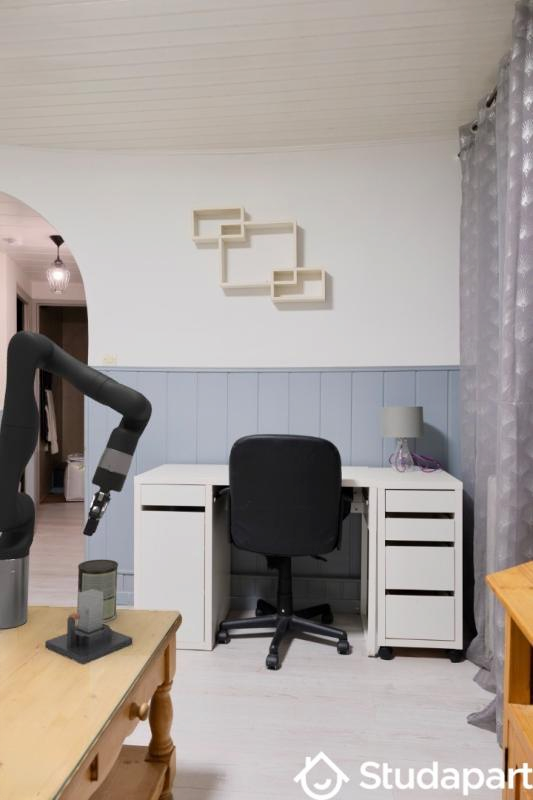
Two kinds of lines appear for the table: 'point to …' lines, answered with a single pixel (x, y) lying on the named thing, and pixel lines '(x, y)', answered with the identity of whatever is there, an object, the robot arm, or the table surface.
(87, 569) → the coffee can
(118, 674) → the table surface
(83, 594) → the steel column
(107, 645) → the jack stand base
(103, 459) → the robot arm
